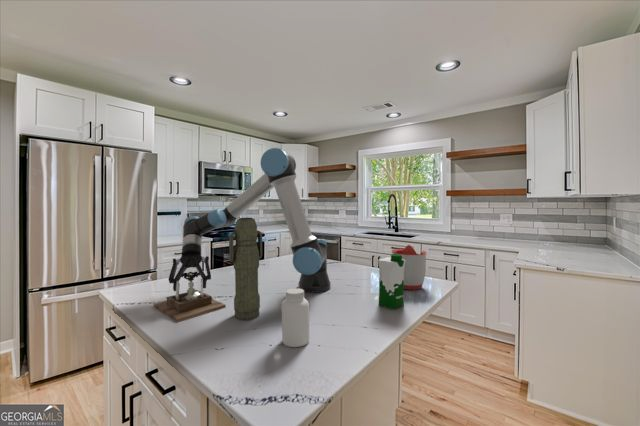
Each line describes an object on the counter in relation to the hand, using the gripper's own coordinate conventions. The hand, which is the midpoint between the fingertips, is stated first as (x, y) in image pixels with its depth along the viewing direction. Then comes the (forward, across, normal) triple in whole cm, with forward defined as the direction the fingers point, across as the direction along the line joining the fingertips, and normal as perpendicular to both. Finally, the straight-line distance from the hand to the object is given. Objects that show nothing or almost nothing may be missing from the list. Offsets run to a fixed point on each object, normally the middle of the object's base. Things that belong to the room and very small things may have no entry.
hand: (189, 296), depth 110 cm
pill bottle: (+30, -32, +22) cm, 49 cm away
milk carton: (+19, -74, +10) cm, 77 cm away
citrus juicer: (+6, -96, -3) cm, 96 cm away
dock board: (+1, +1, -6) cm, 6 cm away
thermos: (+13, -20, +5) cm, 24 cm away
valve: (+1, 0, -6) cm, 6 cm away
